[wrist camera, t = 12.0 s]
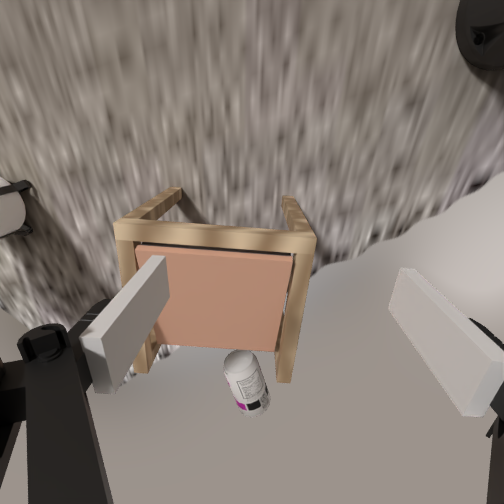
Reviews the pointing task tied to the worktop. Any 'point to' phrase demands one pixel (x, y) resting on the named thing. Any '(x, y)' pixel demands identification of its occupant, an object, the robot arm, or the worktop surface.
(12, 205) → the coffee press
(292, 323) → the trapdoor frame
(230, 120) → the worktop surface
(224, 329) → the trapdoor
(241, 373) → the supplement can
